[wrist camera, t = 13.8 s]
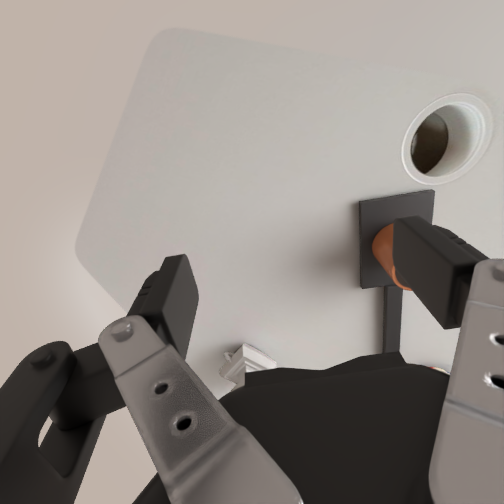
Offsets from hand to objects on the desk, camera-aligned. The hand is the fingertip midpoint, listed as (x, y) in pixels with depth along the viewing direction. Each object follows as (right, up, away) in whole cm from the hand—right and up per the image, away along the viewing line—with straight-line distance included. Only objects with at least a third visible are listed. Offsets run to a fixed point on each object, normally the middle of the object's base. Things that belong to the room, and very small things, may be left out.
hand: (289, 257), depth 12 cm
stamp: (-2, -17, +39) cm, 43 cm away
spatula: (+19, -6, +33) cm, 39 cm away
